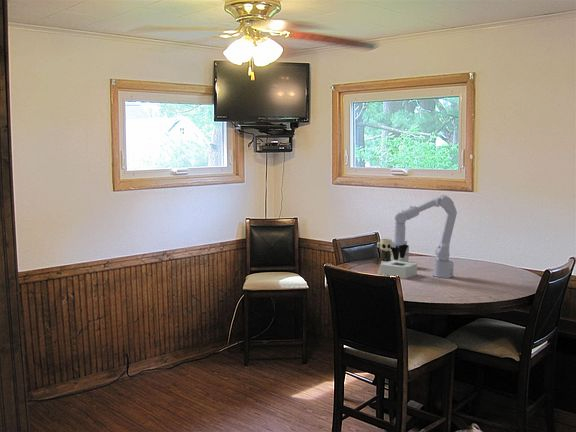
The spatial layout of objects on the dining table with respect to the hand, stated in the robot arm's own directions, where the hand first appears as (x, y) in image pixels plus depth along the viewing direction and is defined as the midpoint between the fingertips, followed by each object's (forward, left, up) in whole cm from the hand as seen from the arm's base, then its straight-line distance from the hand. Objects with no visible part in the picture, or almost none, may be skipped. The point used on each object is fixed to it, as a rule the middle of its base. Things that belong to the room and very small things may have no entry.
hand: (399, 258), depth 342 cm
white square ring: (0, 0, -9) cm, 9 cm away
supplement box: (+10, -22, -9) cm, 26 cm away
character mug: (+25, -33, -9) cm, 42 cm away
